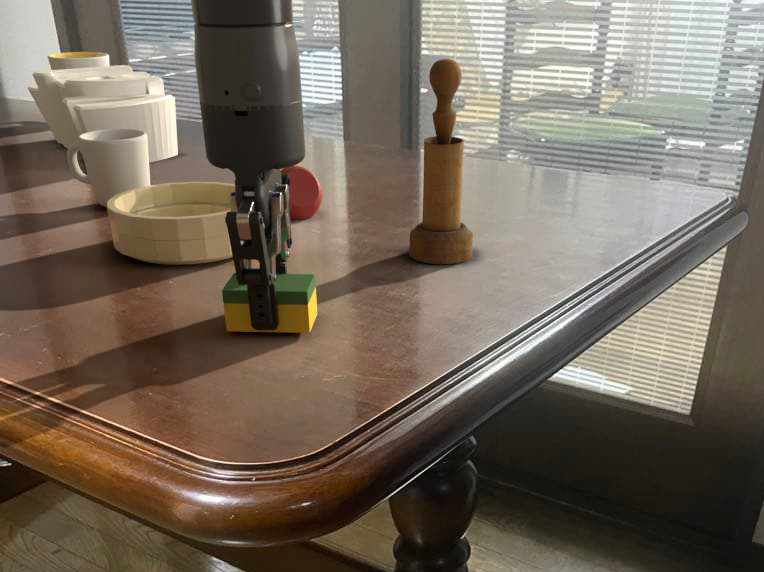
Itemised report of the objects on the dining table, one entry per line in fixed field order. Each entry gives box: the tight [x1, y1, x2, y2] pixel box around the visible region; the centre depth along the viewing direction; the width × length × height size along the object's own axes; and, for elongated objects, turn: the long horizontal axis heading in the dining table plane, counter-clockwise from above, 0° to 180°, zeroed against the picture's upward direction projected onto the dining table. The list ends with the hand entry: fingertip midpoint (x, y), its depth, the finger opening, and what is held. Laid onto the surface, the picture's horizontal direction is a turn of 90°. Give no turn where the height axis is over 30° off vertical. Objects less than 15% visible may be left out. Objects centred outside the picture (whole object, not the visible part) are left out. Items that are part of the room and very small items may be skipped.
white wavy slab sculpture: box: [27, 64, 179, 163], centre depth 133 cm, size 35×16×11 cm, turn 29°
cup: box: [66, 129, 151, 208], centre depth 106 cm, size 11×8×8 cm
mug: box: [46, 51, 111, 70], centre depth 156 cm, size 14×10×10 cm
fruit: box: [280, 165, 323, 220], centre depth 103 cm, size 6×6×8 cm
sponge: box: [221, 272, 318, 334], centre depth 74 cm, size 7×4×4 cm, turn 87°
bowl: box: [106, 181, 235, 266], centre depth 93 cm, size 16×16×5 cm
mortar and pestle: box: [409, 58, 474, 265], centre depth 86 cm, size 7×6×18 cm
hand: (271, 316), depth 74 cm, fingers closed on sponge, 4 cm apart
